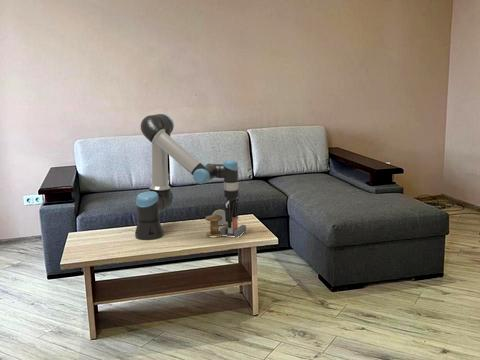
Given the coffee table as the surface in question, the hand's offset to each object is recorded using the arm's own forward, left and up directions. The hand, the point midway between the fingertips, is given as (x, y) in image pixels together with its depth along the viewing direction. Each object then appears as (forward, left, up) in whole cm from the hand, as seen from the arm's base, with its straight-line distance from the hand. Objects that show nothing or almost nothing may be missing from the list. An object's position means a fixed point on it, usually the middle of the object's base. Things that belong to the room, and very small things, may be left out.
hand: (232, 231), depth 270 cm
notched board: (0, +1, -2) cm, 2 cm away
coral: (-15, +16, -2) cm, 22 cm away
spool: (-9, -4, -2) cm, 10 cm away
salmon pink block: (0, 0, 0) cm, 0 cm away
